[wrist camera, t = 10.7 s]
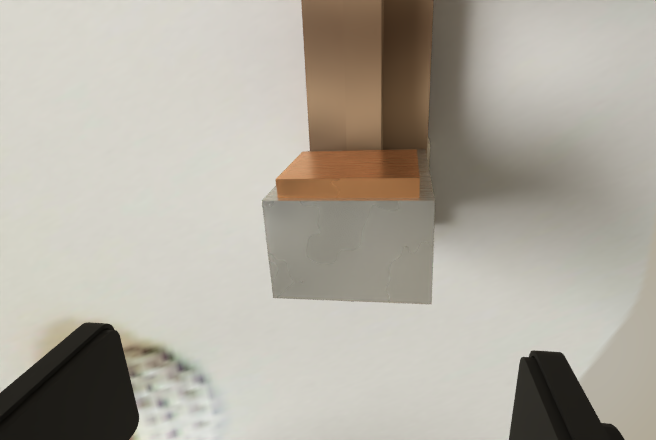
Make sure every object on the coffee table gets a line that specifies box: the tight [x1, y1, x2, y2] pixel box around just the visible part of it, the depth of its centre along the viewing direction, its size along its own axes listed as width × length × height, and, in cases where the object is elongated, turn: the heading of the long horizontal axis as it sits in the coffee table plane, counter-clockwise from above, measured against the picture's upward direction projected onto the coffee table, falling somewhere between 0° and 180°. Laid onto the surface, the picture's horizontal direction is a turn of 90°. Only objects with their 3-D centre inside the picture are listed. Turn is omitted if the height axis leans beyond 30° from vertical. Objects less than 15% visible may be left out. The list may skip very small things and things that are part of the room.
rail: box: [301, 0, 434, 166], centre depth 18 cm, size 20×6×10 cm, turn 2°
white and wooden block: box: [262, 149, 435, 304], centre depth 19 cm, size 5×6×8 cm
